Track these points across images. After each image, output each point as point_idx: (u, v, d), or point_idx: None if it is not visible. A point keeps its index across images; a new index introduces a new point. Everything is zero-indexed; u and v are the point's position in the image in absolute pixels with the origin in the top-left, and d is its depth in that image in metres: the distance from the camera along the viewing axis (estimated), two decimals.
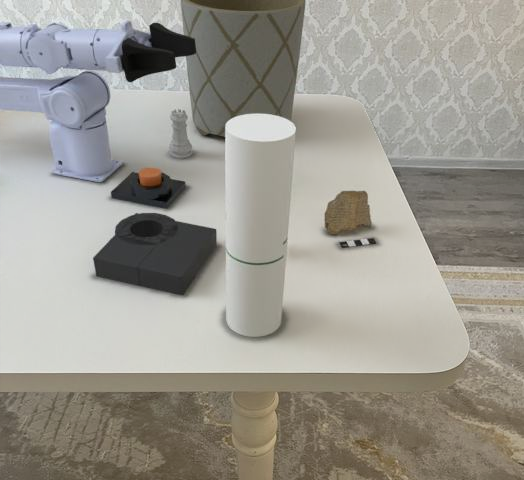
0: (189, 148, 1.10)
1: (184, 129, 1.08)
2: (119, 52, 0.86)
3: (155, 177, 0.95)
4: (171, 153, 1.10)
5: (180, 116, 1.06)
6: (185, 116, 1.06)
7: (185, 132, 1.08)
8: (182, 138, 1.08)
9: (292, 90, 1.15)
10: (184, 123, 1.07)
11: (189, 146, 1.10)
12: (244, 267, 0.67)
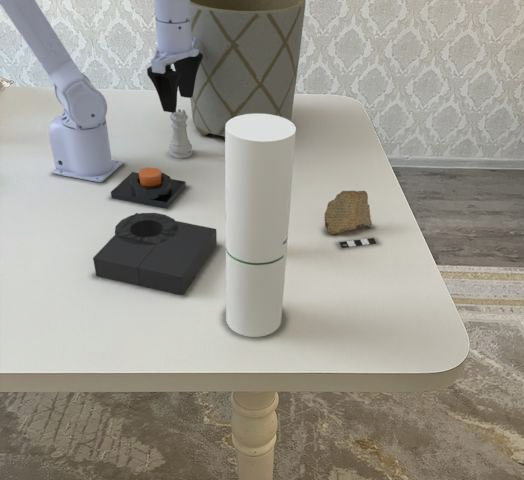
0: (189, 148, 1.10)
1: (184, 129, 1.08)
2: None
3: (155, 177, 0.95)
4: (171, 153, 1.10)
5: (180, 116, 1.06)
6: (185, 116, 1.06)
7: (185, 132, 1.08)
8: (182, 138, 1.08)
9: (292, 90, 1.15)
10: (184, 123, 1.07)
11: (189, 146, 1.10)
12: (244, 267, 0.67)
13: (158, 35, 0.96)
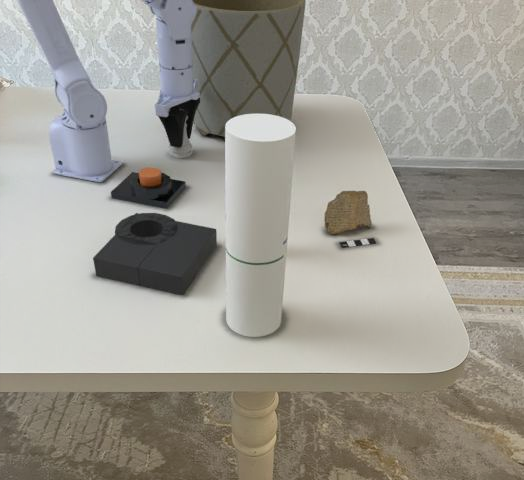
0: (189, 148, 1.10)
1: (184, 129, 1.08)
2: None
3: (155, 177, 0.95)
4: (171, 153, 1.10)
5: None
6: None
7: (185, 132, 1.08)
8: None
9: (292, 90, 1.15)
10: None
11: (189, 146, 1.10)
12: (244, 267, 0.67)
13: (161, 80, 1.01)
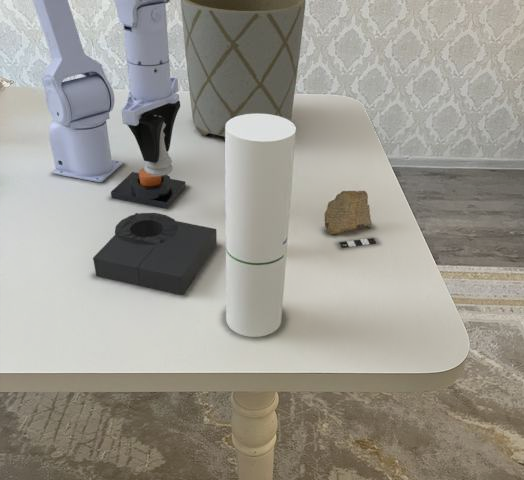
0: (168, 163, 0.89)
1: (161, 140, 0.87)
2: None
3: (155, 177, 0.95)
4: (146, 169, 0.90)
5: None
6: None
7: (163, 143, 0.88)
8: (159, 151, 0.88)
9: (292, 90, 1.15)
10: (161, 132, 0.86)
11: (168, 160, 0.89)
12: (244, 267, 0.67)
13: (130, 79, 0.80)
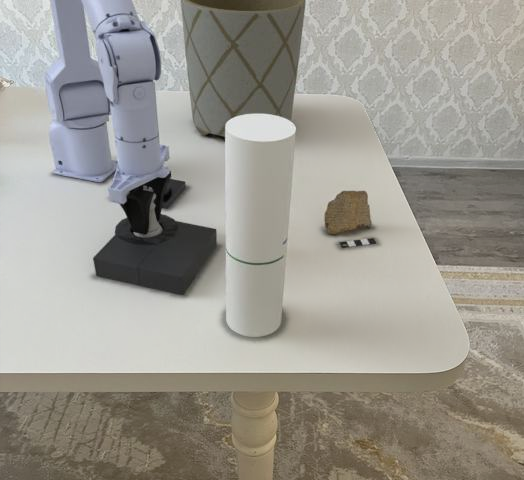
0: None
1: (151, 211, 0.83)
2: None
3: None
4: None
5: None
6: None
7: (153, 214, 0.84)
8: (149, 223, 0.84)
9: (292, 90, 1.15)
10: (151, 204, 0.83)
11: (159, 231, 0.86)
12: (244, 267, 0.67)
13: (118, 153, 0.77)
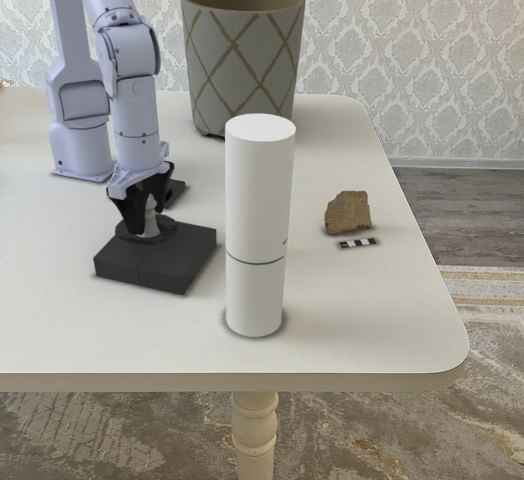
0: None
1: (152, 218, 0.84)
2: None
3: None
4: None
5: (146, 203, 0.82)
6: (153, 203, 0.83)
7: (154, 221, 0.85)
8: (150, 229, 0.85)
9: (292, 90, 1.15)
10: (152, 211, 0.84)
11: None
12: (244, 267, 0.67)
13: (117, 149, 0.76)
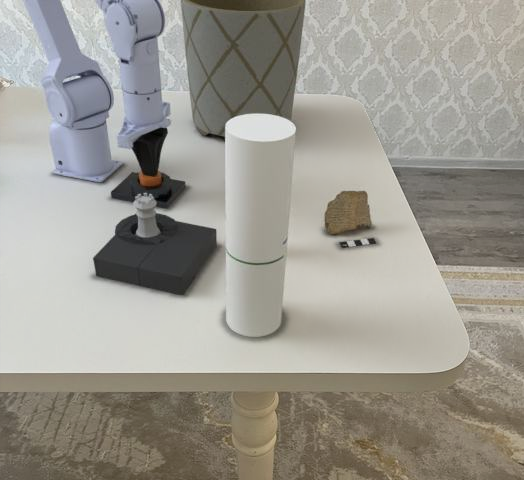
0: None
1: (152, 218, 0.84)
2: None
3: (155, 179, 0.96)
4: None
5: (146, 203, 0.82)
6: (153, 203, 0.83)
7: (154, 221, 0.85)
8: (150, 229, 0.85)
9: (292, 90, 1.15)
10: (152, 211, 0.84)
11: None
12: (244, 267, 0.67)
13: (125, 105, 0.88)
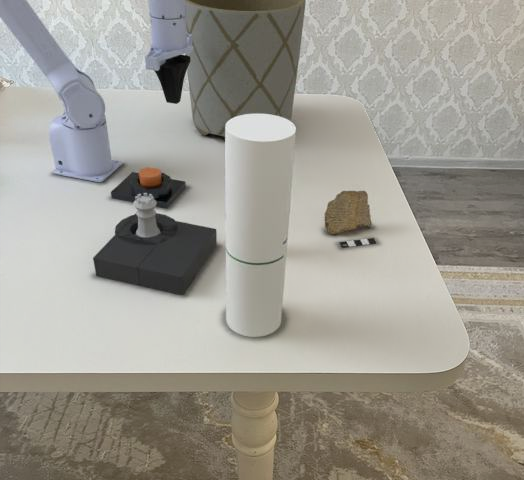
0: None
1: (152, 218, 0.84)
2: None
3: (155, 177, 0.95)
4: None
5: (146, 203, 0.82)
6: (153, 203, 0.83)
7: (154, 221, 0.85)
8: (150, 229, 0.85)
9: (292, 90, 1.15)
10: (152, 211, 0.84)
11: None
12: (244, 267, 0.67)
13: (152, 31, 0.94)
